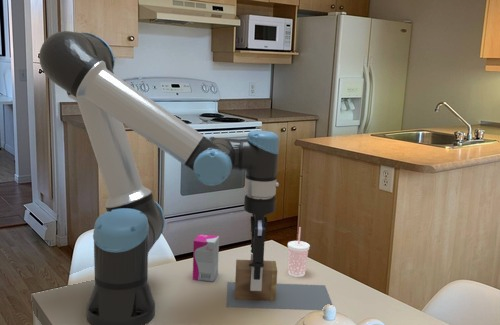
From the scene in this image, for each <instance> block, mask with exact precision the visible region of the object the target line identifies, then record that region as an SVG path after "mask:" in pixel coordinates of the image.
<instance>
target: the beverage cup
mask: <svg viewBox="0 0 500 325" xmlns="http://www.w3.org/2000/svg"><path fill="white" fill-rule="evenodd" d="M301 229H302V227H301V226H299V227H298V234H297V235H298V236H297V237H298V238H297V240H292V241H288V242H287V249H288V253H287V254H288V257H287V258H288V260H287V261H288V264H287V266H288V268H287V269H288V270H287V272H288V275H289V276H292V277H296V278H301V277H304V276H305V274H306V269H307V262H308V261H307V260H308V255H309V250H310V247H311V245H310V244H309V243H307V242H306V241H302V240H301Z"/></svg>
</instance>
